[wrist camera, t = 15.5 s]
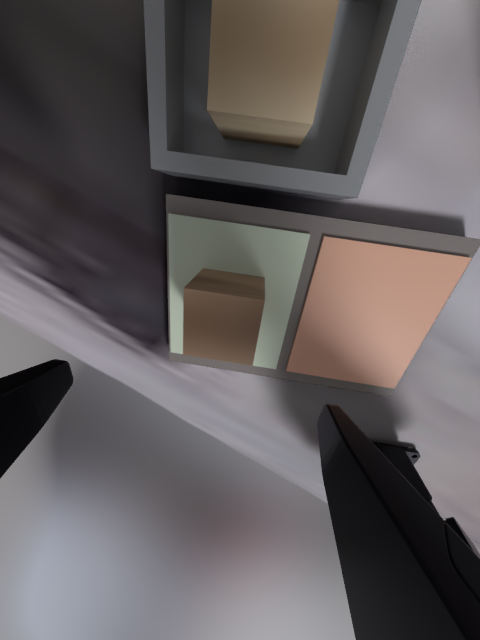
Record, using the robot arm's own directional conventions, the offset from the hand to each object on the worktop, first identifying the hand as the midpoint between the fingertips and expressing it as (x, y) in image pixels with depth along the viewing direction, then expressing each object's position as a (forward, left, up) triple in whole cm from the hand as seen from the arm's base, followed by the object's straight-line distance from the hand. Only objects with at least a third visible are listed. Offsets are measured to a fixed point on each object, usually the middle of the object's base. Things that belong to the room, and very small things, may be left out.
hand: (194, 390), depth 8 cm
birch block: (+11, -1, -9) cm, 14 cm away
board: (0, -5, -10) cm, 11 cm away
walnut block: (0, 0, -8) cm, 8 cm away
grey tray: (+11, -1, -10) cm, 15 cm away
